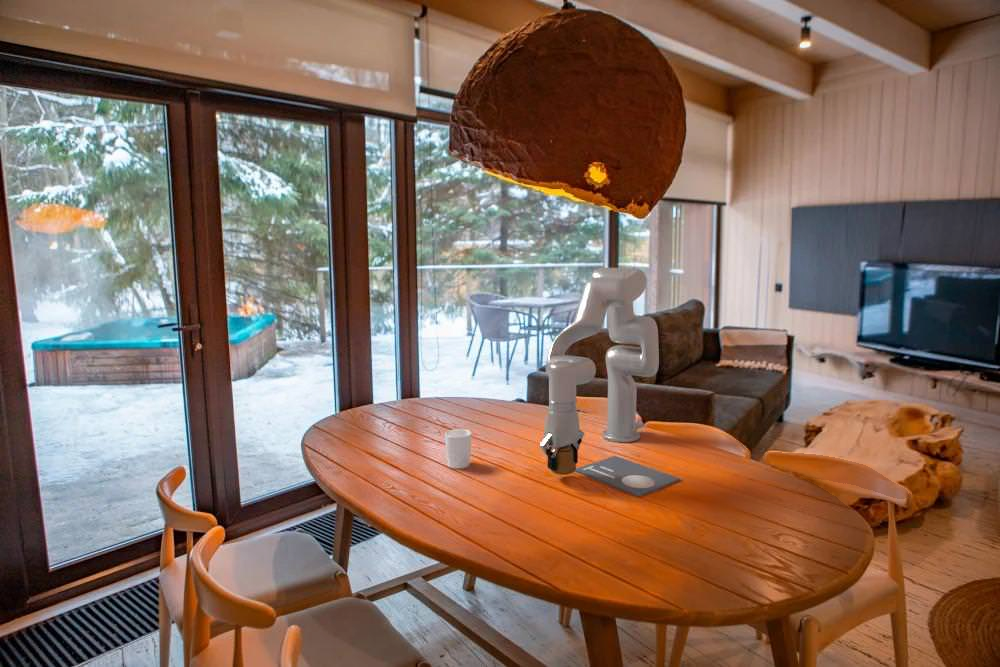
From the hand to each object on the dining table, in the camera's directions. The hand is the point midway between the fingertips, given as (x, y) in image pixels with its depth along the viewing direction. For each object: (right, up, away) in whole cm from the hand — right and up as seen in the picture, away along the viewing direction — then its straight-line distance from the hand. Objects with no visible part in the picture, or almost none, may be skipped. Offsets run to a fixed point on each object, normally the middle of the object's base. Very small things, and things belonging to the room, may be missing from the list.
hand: (562, 465), depth 177 cm
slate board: (+18, -3, +2) cm, 19 cm away
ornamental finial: (0, -2, 0) cm, 2 cm away
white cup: (-30, -3, +12) cm, 33 cm away
